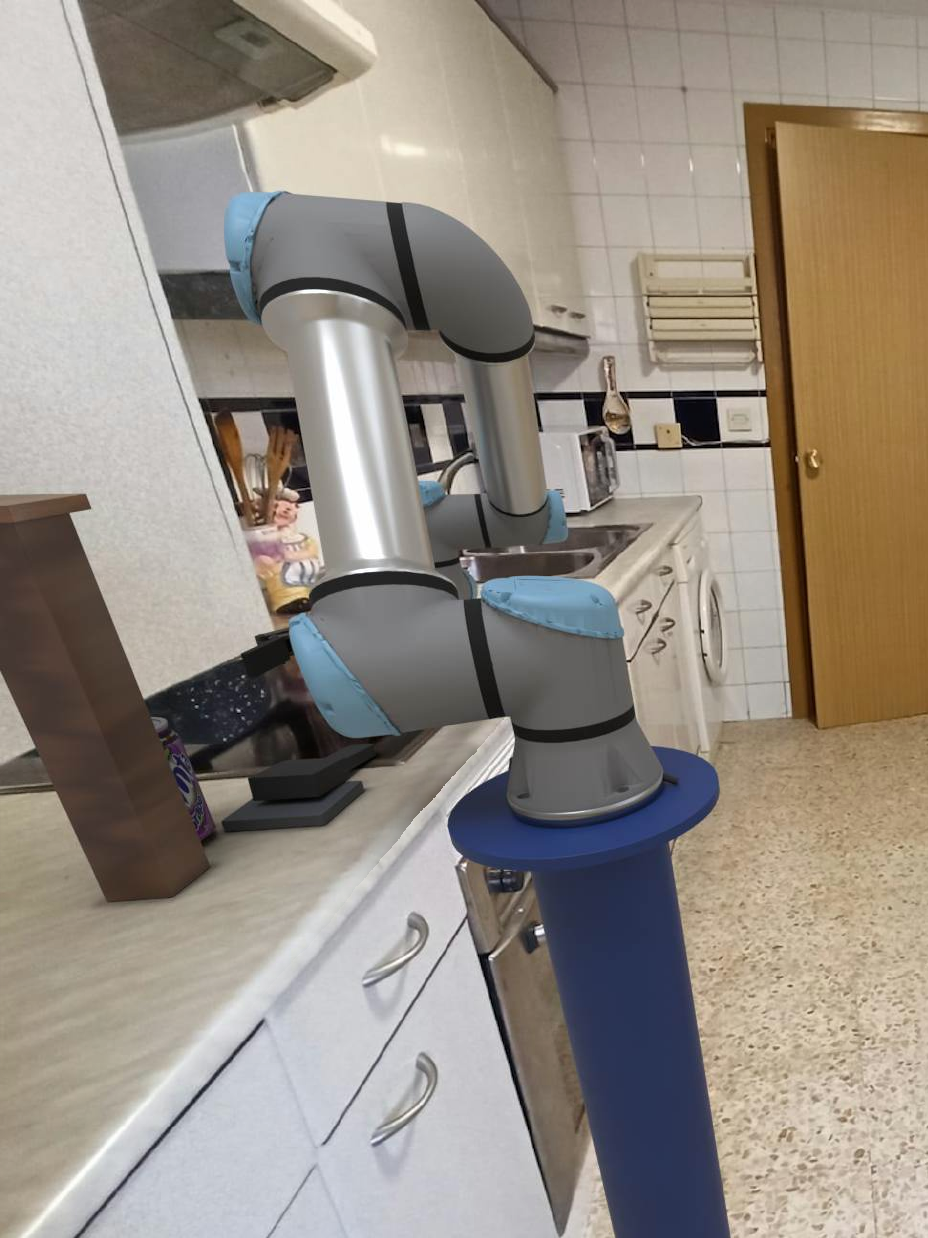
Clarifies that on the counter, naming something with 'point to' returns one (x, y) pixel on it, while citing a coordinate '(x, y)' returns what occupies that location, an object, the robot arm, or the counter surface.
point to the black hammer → (308, 774)
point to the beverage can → (185, 778)
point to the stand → (88, 706)
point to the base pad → (293, 810)
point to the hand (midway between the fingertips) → (317, 662)
